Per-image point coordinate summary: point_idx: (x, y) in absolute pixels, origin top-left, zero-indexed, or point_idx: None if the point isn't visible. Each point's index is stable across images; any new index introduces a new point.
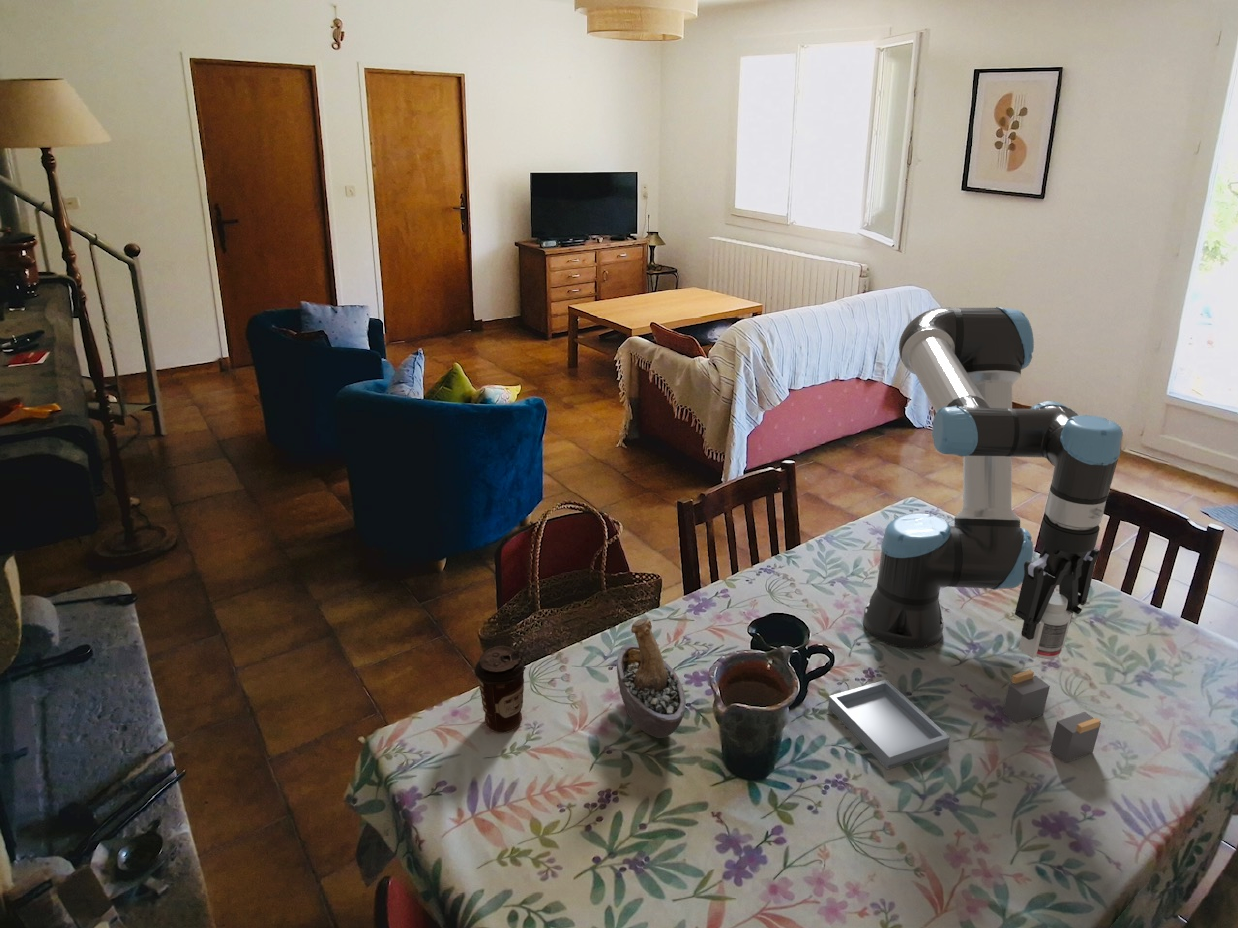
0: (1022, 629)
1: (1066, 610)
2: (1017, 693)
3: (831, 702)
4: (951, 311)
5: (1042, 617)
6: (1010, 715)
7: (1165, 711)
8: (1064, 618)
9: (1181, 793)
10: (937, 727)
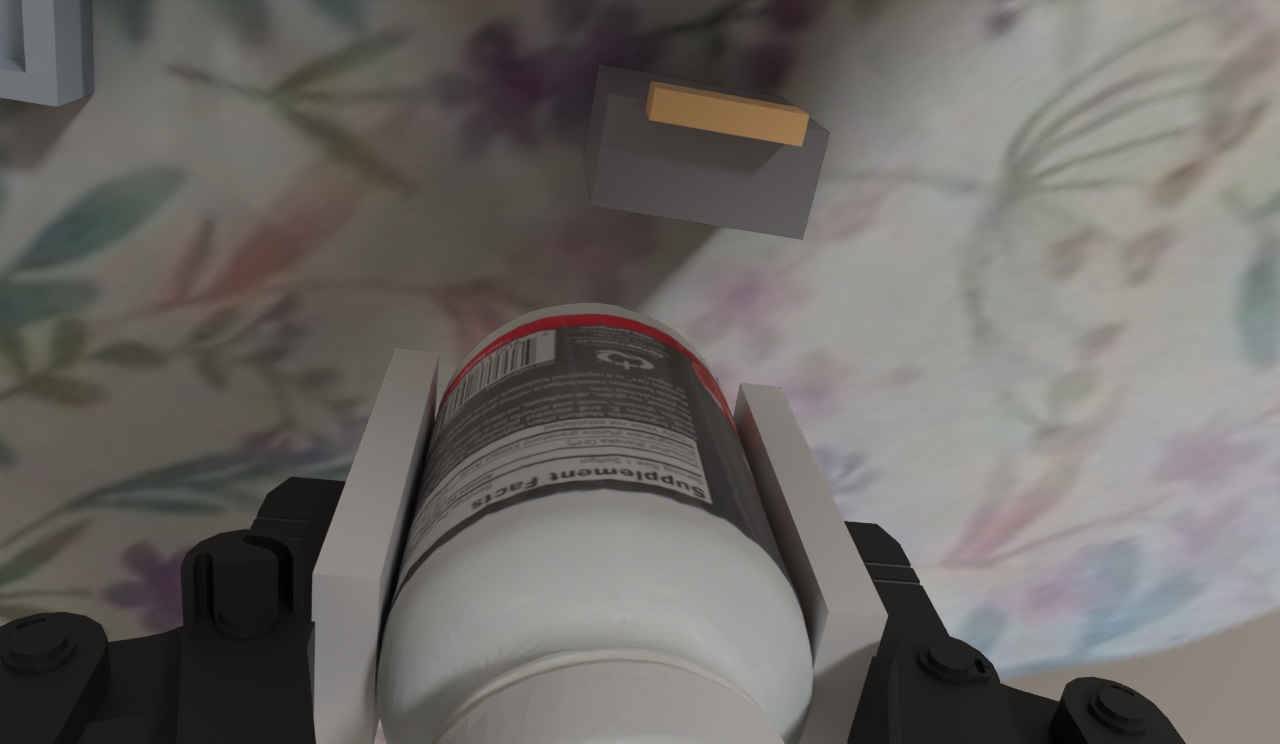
0: (252, 526)
1: (842, 723)
2: (595, 165)
3: None
4: None
5: (391, 742)
6: (591, 118)
7: (1210, 453)
8: None
9: None
10: (41, 9)
